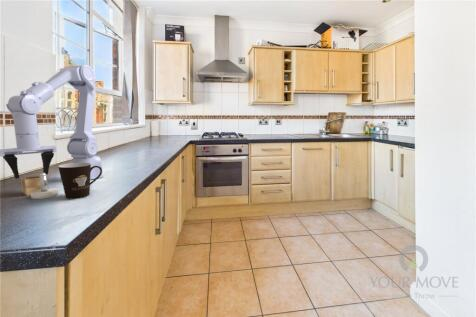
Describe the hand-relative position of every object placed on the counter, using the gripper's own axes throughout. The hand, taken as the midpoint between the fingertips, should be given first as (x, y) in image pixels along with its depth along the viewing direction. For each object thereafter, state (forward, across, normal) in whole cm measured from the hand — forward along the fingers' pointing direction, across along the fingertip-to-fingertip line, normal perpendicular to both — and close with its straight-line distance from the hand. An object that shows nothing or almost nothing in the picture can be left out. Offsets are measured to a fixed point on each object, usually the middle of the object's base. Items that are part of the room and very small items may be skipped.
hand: (31, 175), depth 85 cm
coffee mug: (+6, -9, +16) cm, 19 cm away
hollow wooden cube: (+6, 0, 0) cm, 6 cm away
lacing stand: (+6, -1, +7) cm, 9 cm away
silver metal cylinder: (+4, -1, +7) cm, 8 cm away
